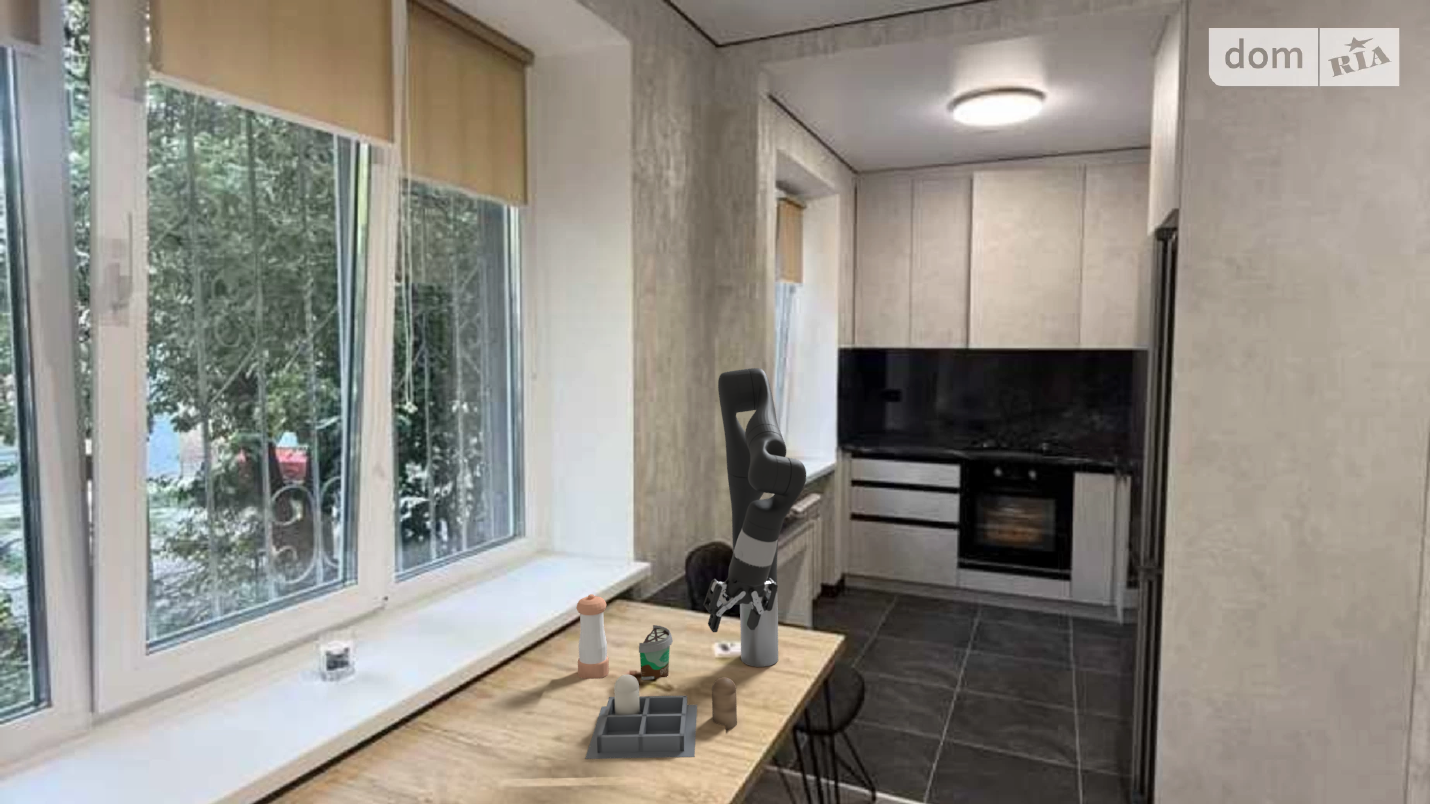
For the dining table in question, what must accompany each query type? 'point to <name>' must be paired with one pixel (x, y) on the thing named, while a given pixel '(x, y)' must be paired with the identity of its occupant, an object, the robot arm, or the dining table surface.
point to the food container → (655, 653)
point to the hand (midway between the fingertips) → (731, 628)
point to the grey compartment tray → (646, 730)
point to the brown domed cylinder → (724, 702)
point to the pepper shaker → (592, 639)
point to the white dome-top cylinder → (627, 696)
